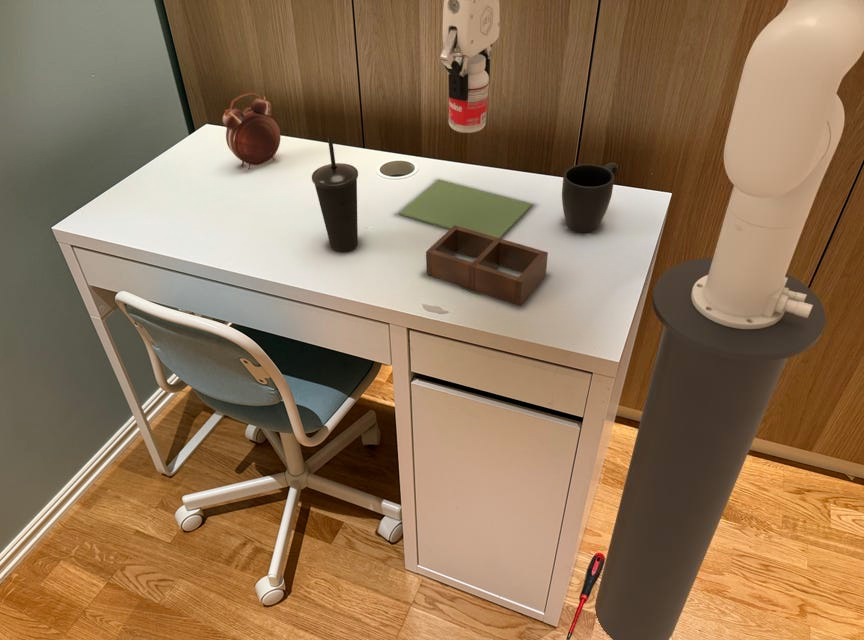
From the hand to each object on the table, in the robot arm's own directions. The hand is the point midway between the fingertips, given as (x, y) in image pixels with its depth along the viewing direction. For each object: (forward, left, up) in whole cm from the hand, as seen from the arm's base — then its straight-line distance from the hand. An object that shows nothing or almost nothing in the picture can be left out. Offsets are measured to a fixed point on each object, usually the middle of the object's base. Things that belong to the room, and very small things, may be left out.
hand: (469, 89), depth 114 cm
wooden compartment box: (-12, +15, -23) cm, 30 cm away
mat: (+1, -1, -23) cm, 23 cm away
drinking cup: (+14, +19, -23) cm, 33 cm away
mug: (-20, -8, -23) cm, 32 cm away
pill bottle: (0, 0, -6) cm, 6 cm away
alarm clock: (+49, +3, -23) cm, 55 cm away
